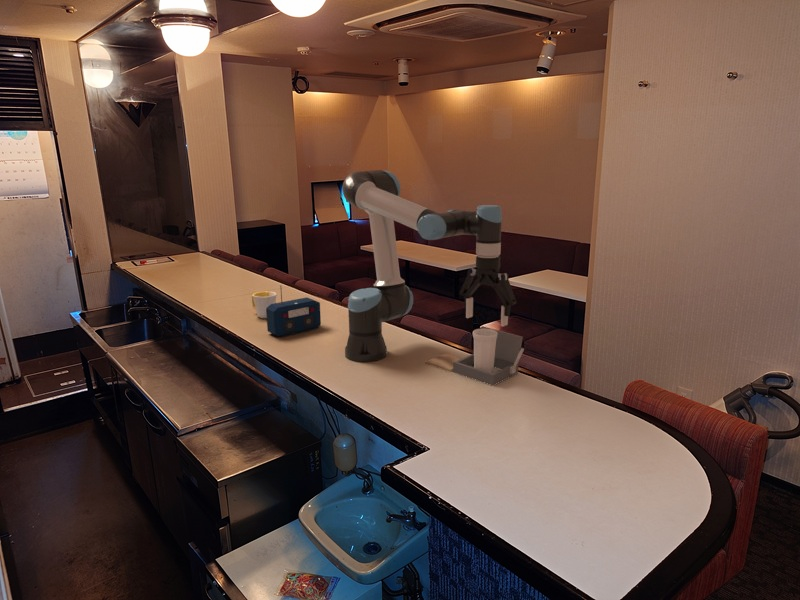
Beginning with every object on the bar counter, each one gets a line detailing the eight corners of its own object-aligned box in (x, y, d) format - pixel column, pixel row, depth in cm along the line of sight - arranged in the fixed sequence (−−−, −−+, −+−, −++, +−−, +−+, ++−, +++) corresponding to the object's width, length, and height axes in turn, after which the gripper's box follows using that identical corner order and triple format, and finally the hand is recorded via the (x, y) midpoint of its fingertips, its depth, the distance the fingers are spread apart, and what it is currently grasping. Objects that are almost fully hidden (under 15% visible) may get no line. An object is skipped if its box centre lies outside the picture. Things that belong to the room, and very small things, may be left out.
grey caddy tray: (496, 386, 169) (498, 349, 166) (453, 372, 180) (453, 336, 177) (523, 372, 180) (526, 337, 176) (481, 359, 191) (482, 325, 188)
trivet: (449, 371, 181) (449, 369, 181) (425, 363, 188) (425, 361, 188) (469, 362, 188) (470, 361, 188) (445, 354, 196) (445, 353, 196)
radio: (276, 339, 213) (273, 289, 208) (266, 333, 220) (263, 285, 215) (322, 328, 226) (320, 281, 221) (311, 323, 233) (309, 278, 227)
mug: (281, 317, 242) (280, 294, 239) (260, 321, 236) (258, 298, 233) (267, 310, 252) (266, 288, 250) (247, 314, 246) (245, 292, 243)
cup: (466, 370, 181) (468, 330, 178) (488, 367, 184) (489, 327, 181) (478, 379, 174) (480, 337, 170) (500, 376, 177) (502, 334, 173)
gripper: (529, 258, 163) (526, 326, 168) (463, 250, 180) (462, 311, 185) (516, 262, 158) (513, 332, 163) (449, 252, 175) (448, 316, 180)
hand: (486, 321), depth 174 cm, fingers open, 13 cm apart
